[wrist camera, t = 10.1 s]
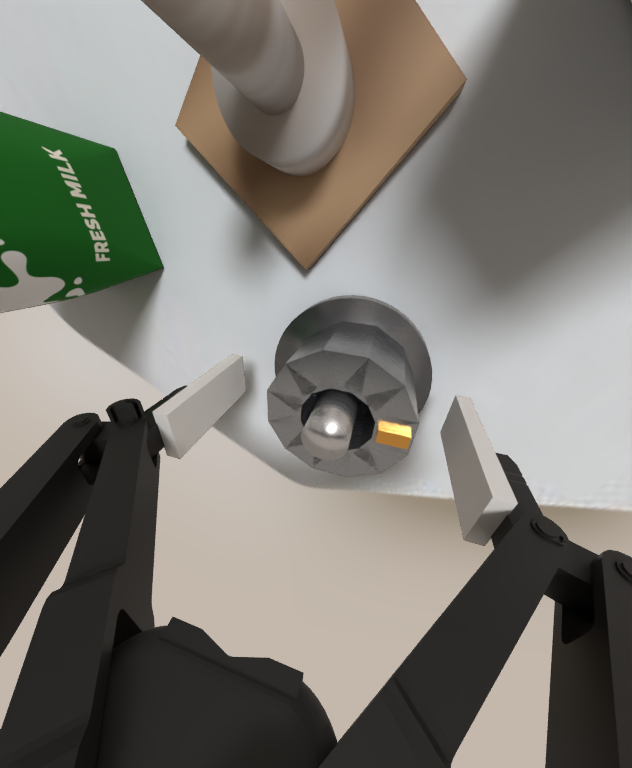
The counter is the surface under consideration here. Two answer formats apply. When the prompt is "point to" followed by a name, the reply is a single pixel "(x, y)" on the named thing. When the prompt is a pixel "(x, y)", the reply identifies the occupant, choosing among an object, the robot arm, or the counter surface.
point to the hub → (339, 408)
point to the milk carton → (65, 218)
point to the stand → (309, 103)
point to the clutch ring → (355, 375)
